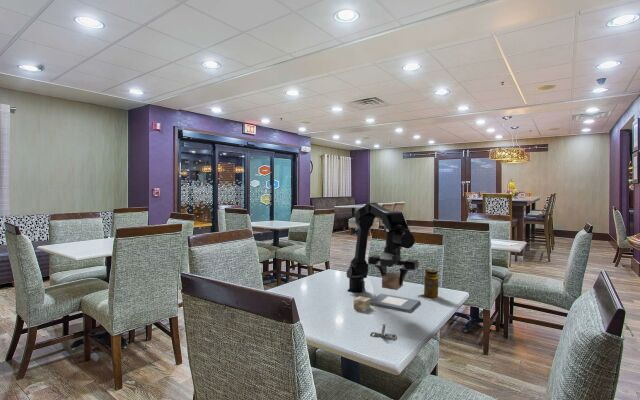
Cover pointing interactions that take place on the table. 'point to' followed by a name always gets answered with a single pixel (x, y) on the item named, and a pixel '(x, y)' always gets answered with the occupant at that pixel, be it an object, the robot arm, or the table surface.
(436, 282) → the condiment
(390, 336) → the strap clip
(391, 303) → the board
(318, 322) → the table surface
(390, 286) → the walnut block
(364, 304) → the birch cube
